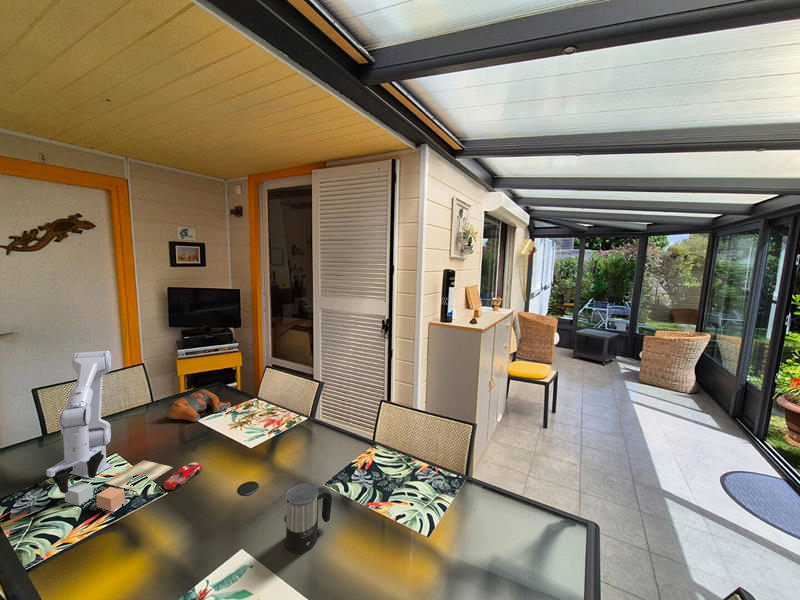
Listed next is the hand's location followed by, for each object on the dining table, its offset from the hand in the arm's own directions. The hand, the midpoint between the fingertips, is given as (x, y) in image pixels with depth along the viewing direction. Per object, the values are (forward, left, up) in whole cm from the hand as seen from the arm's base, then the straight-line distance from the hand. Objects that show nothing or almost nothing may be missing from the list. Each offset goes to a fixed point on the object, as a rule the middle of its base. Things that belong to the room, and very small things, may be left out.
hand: (78, 484), depth 106 cm
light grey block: (0, 0, -6) cm, 6 cm away
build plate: (+6, +15, -5) cm, 17 cm away
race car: (+22, +18, -6) cm, 29 cm away
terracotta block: (+12, +1, -6) cm, 13 cm away
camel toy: (-13, +61, -6) cm, 62 cm away
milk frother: (+74, +10, -6) cm, 75 cm away
